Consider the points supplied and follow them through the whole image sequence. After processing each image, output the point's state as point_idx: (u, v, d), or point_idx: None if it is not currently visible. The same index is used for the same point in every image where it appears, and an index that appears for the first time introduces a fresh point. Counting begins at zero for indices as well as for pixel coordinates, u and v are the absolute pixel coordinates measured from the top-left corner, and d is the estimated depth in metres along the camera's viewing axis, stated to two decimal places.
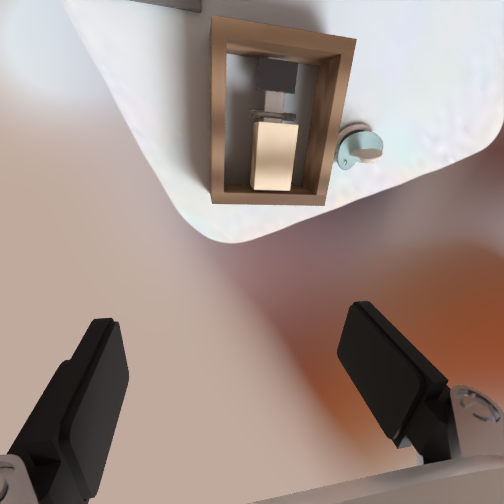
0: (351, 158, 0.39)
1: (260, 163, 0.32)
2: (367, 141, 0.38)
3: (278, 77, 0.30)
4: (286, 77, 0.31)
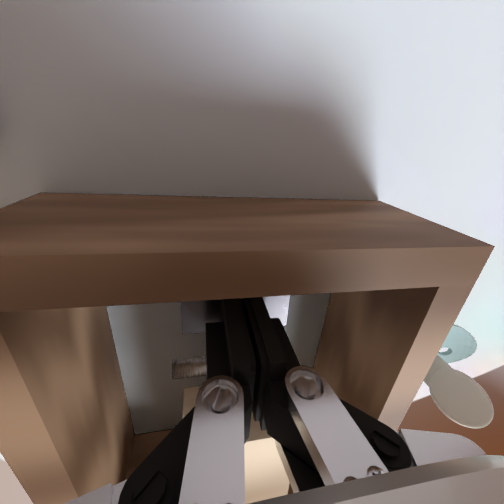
0: None
1: None
2: None
3: None
4: (263, 299, 0.11)
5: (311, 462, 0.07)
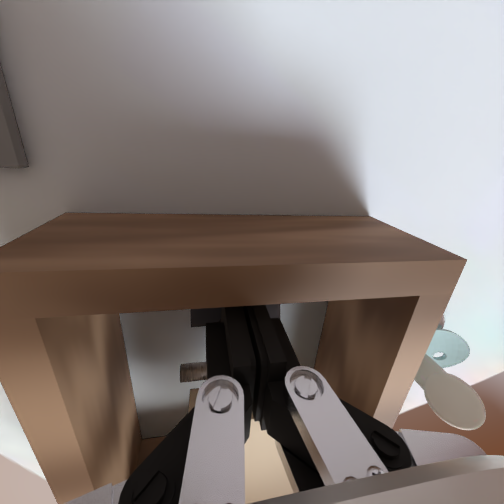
0: None
1: None
2: (435, 340, 0.19)
3: None
4: None
5: (311, 462, 0.07)
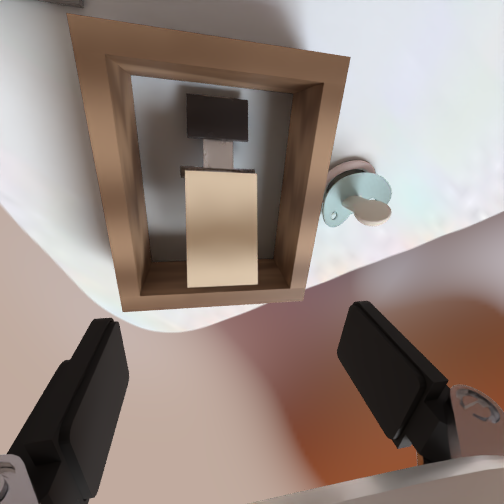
0: (344, 209, 0.26)
1: (195, 239, 0.17)
2: (367, 186, 0.25)
3: (219, 119, 0.20)
4: (232, 119, 0.20)
5: None
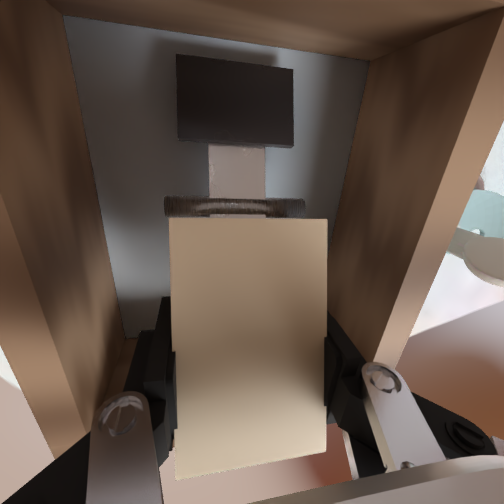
0: None
1: (192, 373, 0.08)
2: (473, 211, 0.16)
3: (241, 105, 0.10)
4: (264, 105, 0.10)
5: None
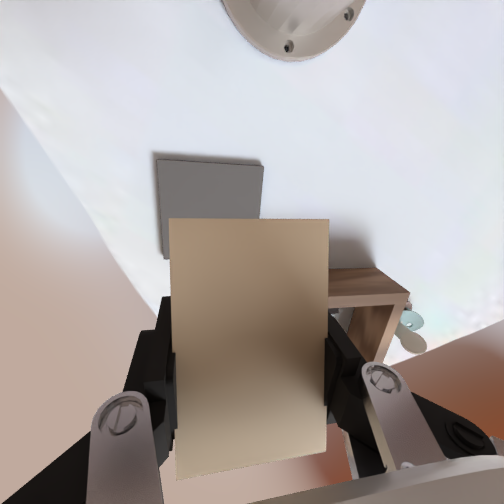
0: None
1: (193, 374, 0.08)
2: (407, 316, 0.37)
3: None
4: None
5: None
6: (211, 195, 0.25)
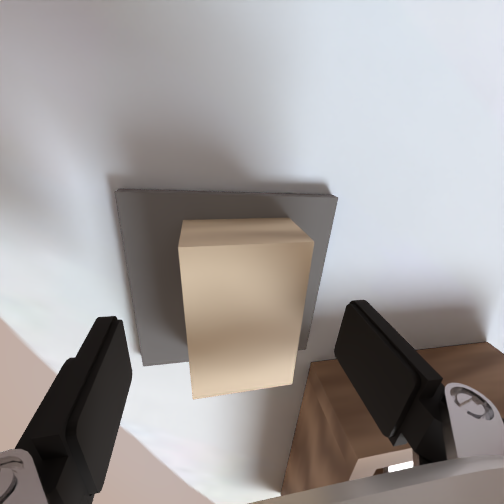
0: None
1: (201, 346, 0.11)
2: None
3: None
4: None
5: None
6: None
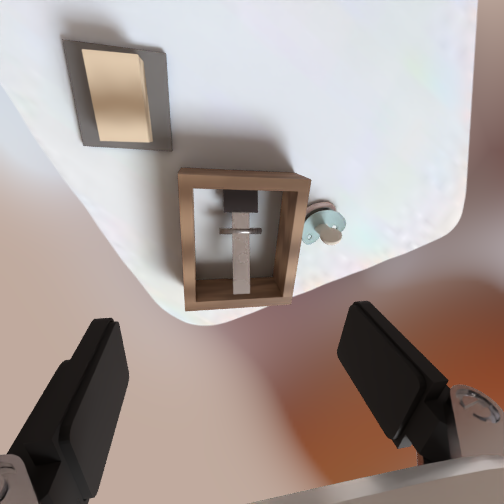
0: (316, 232, 0.40)
1: (99, 106, 0.26)
2: (330, 218, 0.39)
3: (241, 201, 0.35)
4: (248, 201, 0.35)
5: None
6: None
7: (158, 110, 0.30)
